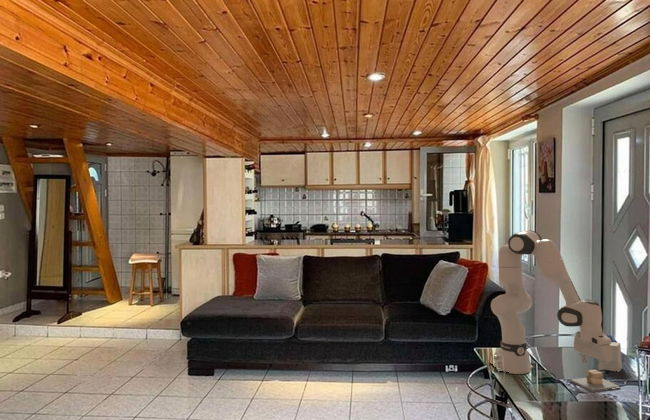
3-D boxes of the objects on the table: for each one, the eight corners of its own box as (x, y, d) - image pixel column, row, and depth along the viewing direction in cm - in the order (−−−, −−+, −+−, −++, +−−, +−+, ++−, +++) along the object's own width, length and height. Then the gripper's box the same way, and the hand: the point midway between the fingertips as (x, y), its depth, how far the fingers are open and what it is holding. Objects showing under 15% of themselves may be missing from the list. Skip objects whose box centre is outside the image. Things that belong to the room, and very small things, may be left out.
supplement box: (622, 368, 239) (621, 342, 239) (619, 372, 233) (617, 346, 233) (605, 365, 244) (604, 340, 244) (602, 369, 238) (600, 344, 238)
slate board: (570, 381, 224) (570, 379, 224) (597, 378, 227) (597, 376, 227) (592, 392, 210) (592, 389, 210) (620, 388, 213) (620, 386, 213)
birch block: (586, 381, 220) (586, 370, 221) (595, 380, 221) (594, 369, 221) (593, 384, 216) (593, 373, 216) (602, 383, 217) (602, 372, 217)
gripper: (569, 330, 229) (570, 359, 229) (601, 342, 209) (602, 374, 209) (581, 329, 230) (582, 358, 230) (614, 341, 210) (615, 372, 210)
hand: (592, 365), depth 219 cm, fingers open, 8 cm apart
